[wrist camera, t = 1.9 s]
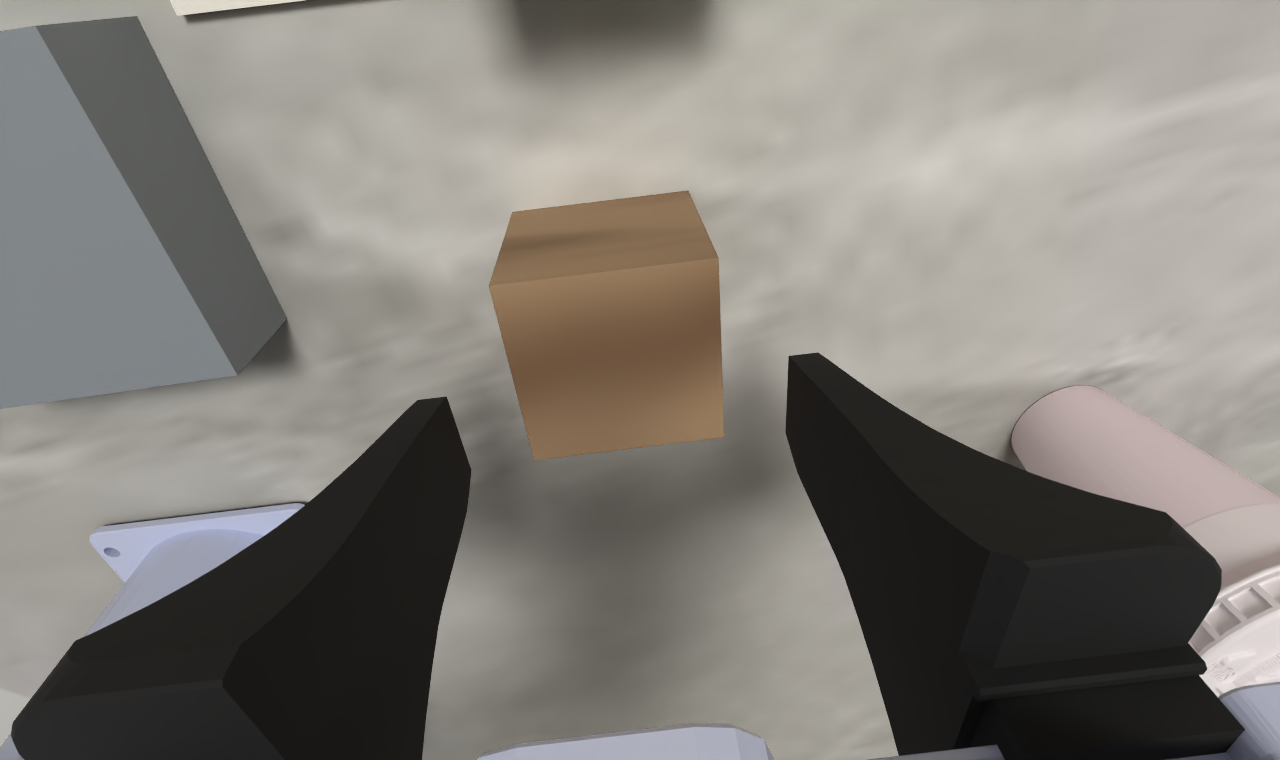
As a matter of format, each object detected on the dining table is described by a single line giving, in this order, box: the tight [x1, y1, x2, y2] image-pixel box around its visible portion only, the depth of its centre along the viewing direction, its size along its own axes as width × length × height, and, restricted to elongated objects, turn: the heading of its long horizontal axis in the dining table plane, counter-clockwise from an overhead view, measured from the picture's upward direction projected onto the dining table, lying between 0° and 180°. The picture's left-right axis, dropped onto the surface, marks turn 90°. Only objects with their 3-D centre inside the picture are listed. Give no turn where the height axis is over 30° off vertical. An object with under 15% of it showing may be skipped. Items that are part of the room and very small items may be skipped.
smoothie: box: [1011, 386, 1280, 697], centre depth 17 cm, size 6×6×14 cm
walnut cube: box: [489, 191, 724, 460], centre depth 17 cm, size 5×5×5 cm
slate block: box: [0, 16, 287, 409], centre depth 15 cm, size 8×8×4 cm
